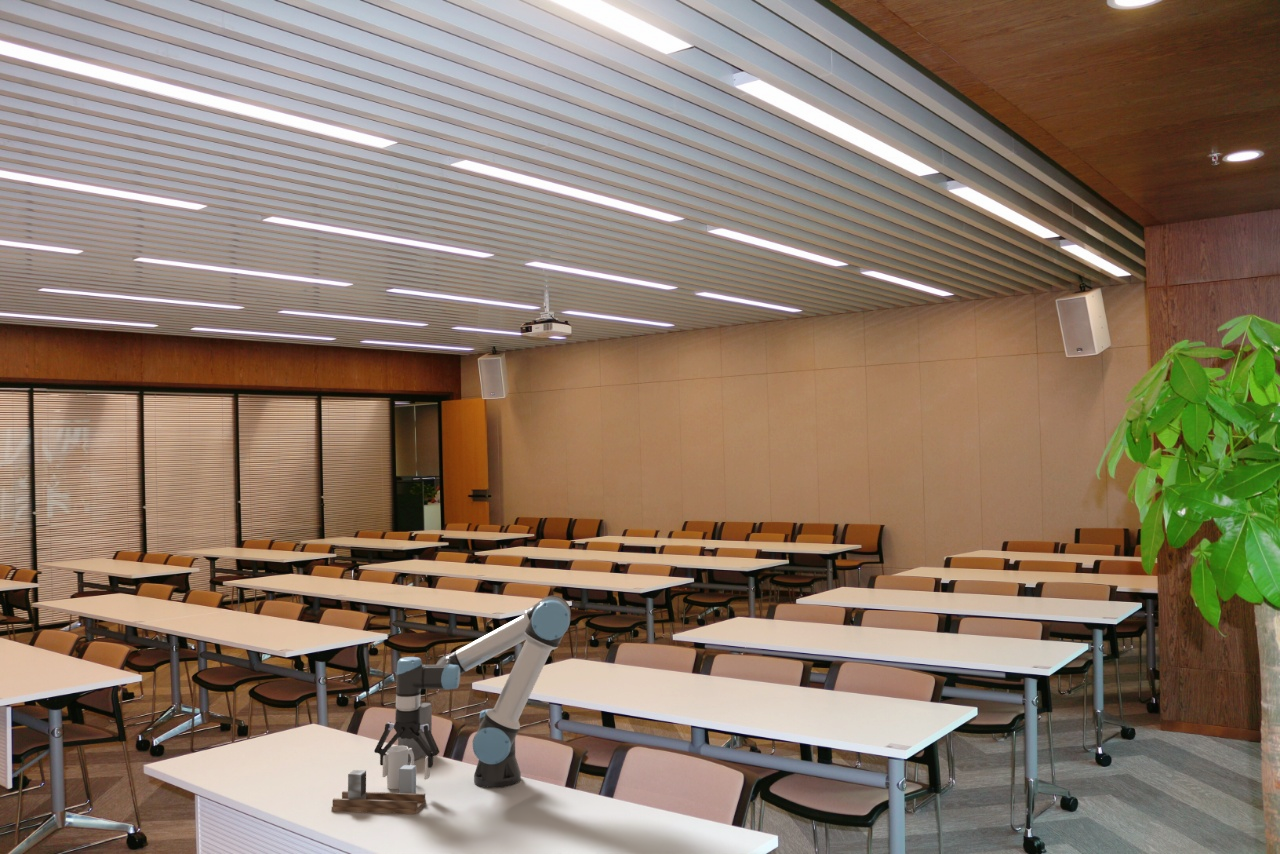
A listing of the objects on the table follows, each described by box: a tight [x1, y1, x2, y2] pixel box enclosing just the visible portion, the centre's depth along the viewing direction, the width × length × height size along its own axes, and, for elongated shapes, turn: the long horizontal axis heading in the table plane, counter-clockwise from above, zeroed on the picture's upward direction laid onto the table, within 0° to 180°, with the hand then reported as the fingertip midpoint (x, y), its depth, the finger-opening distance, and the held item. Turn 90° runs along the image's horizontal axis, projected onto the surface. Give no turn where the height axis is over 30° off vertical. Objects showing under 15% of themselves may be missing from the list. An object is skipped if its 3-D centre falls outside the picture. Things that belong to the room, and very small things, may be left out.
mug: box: [386, 745, 415, 790], centre depth 309 cm, size 10×7×12 cm, turn 141°
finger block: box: [398, 764, 417, 794], centre depth 298 cm, size 4×4×9 cm
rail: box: [331, 769, 427, 815], centre depth 288 cm, size 26×9×10 cm, turn 83°
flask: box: [397, 699, 433, 763], centre depth 340 cm, size 15×6×20 cm, turn 152°
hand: (406, 777), depth 298 cm, fingers open, 13 cm apart
